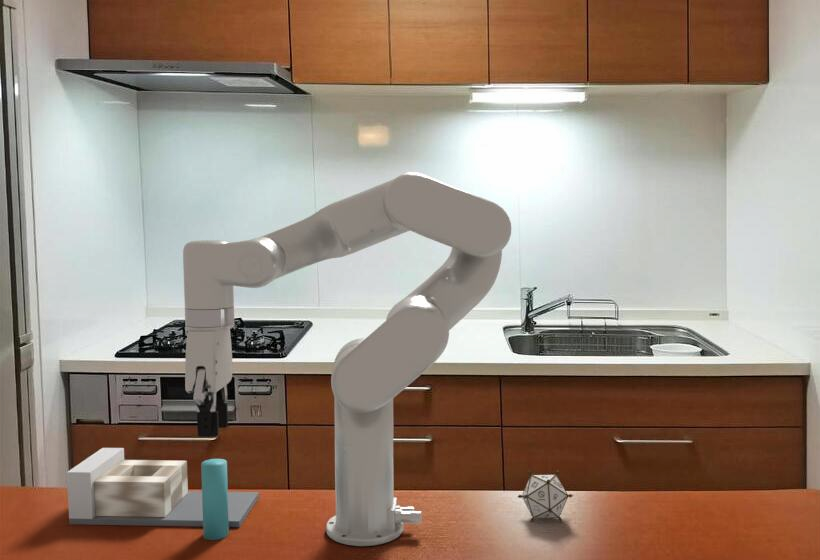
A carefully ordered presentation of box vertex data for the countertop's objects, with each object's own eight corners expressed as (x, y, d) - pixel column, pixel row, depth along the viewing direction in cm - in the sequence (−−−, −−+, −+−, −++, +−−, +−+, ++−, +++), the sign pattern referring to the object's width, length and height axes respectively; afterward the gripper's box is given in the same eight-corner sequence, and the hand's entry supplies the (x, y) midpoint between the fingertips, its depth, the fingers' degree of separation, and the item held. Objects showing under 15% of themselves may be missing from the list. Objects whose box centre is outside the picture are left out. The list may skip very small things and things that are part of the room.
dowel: (231, 529, 123) (229, 458, 122) (224, 540, 119) (222, 467, 118) (208, 529, 124) (205, 458, 122) (200, 539, 120) (197, 466, 118)
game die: (549, 535, 129) (575, 484, 132) (560, 538, 121) (588, 483, 123) (503, 508, 130) (530, 457, 133) (511, 509, 122) (540, 455, 124)
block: (187, 492, 137) (186, 460, 136) (165, 516, 126) (164, 482, 125) (123, 491, 137) (122, 459, 137) (95, 515, 126) (94, 481, 126)
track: (259, 497, 137) (258, 449, 136) (239, 527, 124) (238, 474, 123) (104, 495, 139) (102, 447, 138) (69, 524, 126) (66, 472, 125)
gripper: (203, 311, 127) (207, 417, 128) (166, 326, 110) (170, 447, 112) (247, 311, 126) (250, 417, 128) (216, 326, 110) (220, 448, 111)
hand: (213, 430), depth 120 cm, fingers open, 4 cm apart
